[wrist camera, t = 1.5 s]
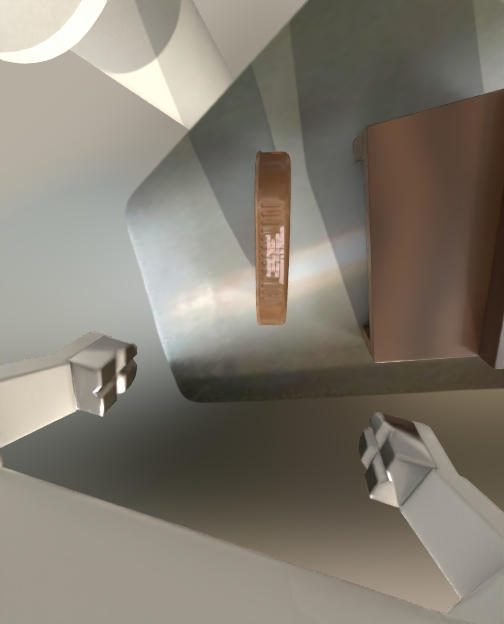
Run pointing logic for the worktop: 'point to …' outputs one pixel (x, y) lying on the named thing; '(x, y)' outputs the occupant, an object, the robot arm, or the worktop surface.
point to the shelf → (436, 232)
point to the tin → (272, 235)
